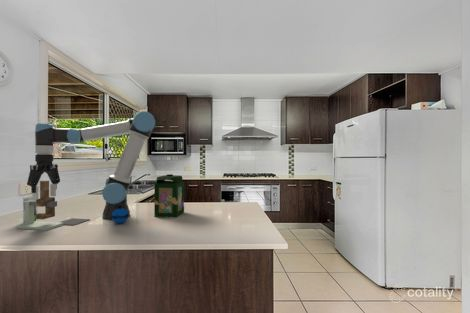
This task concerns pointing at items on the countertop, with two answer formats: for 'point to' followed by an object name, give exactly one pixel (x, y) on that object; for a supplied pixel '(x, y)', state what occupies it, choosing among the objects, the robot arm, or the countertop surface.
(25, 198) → the syrup box
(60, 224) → the stand
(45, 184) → the brown long angular piece
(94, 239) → the countertop surface
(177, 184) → the container
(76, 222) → the mat
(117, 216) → the ornament
